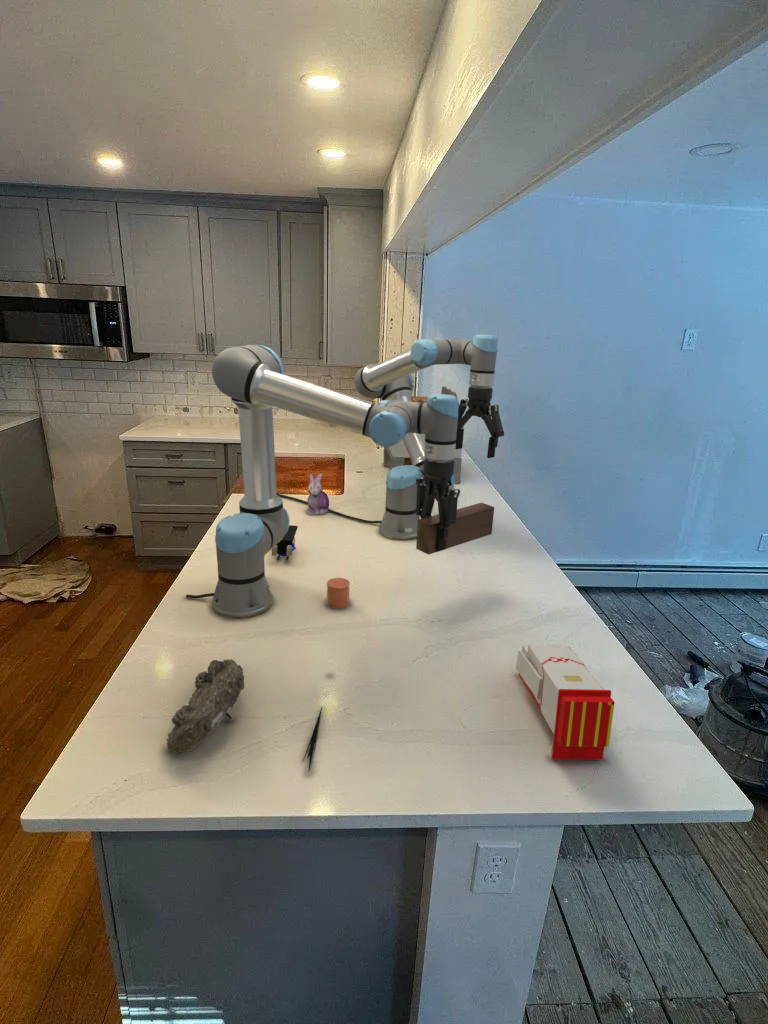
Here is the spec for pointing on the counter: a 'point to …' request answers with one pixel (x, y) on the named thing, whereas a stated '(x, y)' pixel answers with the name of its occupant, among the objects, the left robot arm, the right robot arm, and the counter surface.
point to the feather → (313, 740)
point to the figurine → (317, 496)
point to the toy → (568, 700)
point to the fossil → (206, 705)
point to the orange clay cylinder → (338, 592)
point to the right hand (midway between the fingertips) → (474, 453)
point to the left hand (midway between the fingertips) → (433, 546)
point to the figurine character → (286, 544)
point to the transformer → (400, 456)
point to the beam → (456, 527)
